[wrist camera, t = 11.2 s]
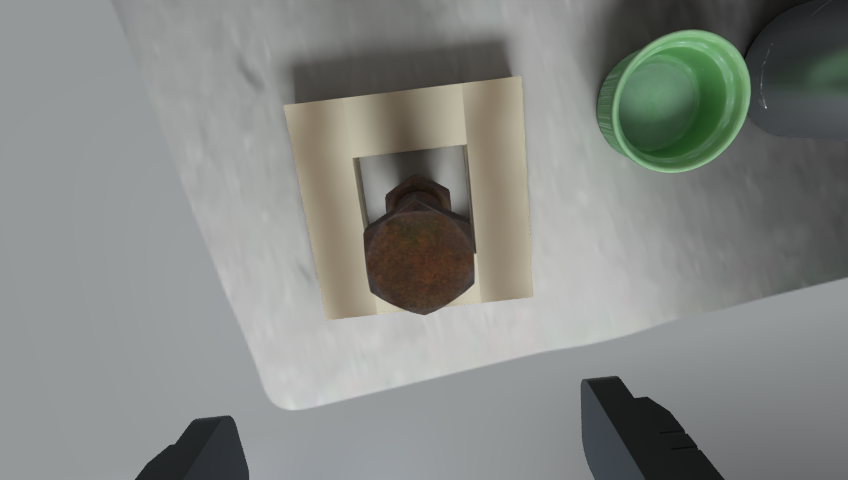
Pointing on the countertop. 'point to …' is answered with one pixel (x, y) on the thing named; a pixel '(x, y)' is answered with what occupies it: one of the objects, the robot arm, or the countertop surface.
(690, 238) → the countertop surface
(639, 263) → the countertop surface
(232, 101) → the countertop surface
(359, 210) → the frame
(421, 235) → the bolt
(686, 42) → the ramekin
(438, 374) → the countertop surface
